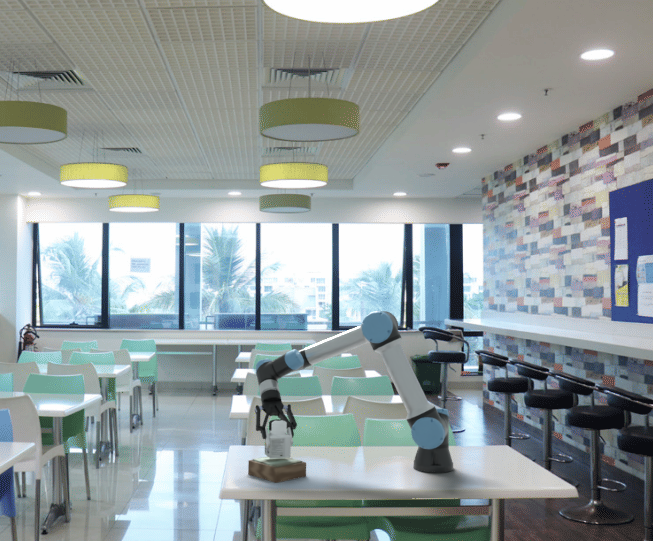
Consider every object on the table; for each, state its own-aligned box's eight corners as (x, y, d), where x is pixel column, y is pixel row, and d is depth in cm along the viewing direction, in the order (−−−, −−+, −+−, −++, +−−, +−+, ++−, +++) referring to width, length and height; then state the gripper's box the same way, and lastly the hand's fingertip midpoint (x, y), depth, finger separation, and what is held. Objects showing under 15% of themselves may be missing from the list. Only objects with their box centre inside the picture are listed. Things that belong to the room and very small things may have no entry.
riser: (306, 476, 248) (306, 461, 248) (276, 482, 238) (276, 466, 239) (278, 468, 259) (278, 453, 260) (248, 474, 250) (248, 459, 250)
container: (264, 454, 252) (265, 418, 252) (284, 453, 254) (285, 418, 255) (270, 459, 244) (270, 422, 245) (290, 457, 247) (291, 421, 248)
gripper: (294, 399, 268) (305, 449, 252) (242, 401, 262) (250, 452, 245) (298, 387, 263) (309, 437, 247) (245, 389, 257) (253, 440, 241)
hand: (280, 445), depth 246 cm, fingers closed on container, 8 cm apart
